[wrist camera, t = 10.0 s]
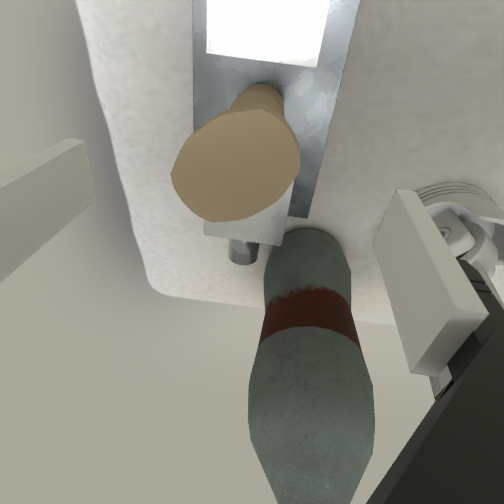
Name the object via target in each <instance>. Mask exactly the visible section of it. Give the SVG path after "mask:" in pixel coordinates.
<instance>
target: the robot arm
mask: <svg viewBox="0 0 504 504" xmlns="http://www.w3.org/2000/svg"><path fill="white" fill-rule="evenodd" d="M96 199H97V196H96V191H95V186H94V182H93V177H92V172H91V167H90V163H89V158H88V153H87V149H86V144H85V141H84V140H79V139H72V138H66V139H64V140H62V141H60V142H58V143H57V144H55V145H53V146H51V147H49V148H47V149H45V150H43V151H41V152H39V153H37V154H35V155H33V156H31V157H29V158H27V159H25V160H23V161H22V162H20V163H18V164H16V165H14V166H12V167H10V168H8V169H6V170H4V171H2V172H0V283H1V282H2V281H3V280H4V279H5V278H7V277H8V276H9V275H10V274H11V273H12V272H13V271H15V270H16V269H17V268H18V267H19V266H20V265H21V264H23V263H24V262H25V261H26V260H27V259H28V258H29V257H31V256H32V255H33V254H34V253H35V252H36V251H37V250H39V249H40V248H41V247H42V246H43V245H44V244H45V243H46V242H48V241H49V240H50V239H51V238H52V237H53V236H54V235H55V234H57V233H58V232H59V231H60V230H61V229H63V228H64V227H65V226H66V225H67V224H68V223H69V222H70V221H72V220H73V219H74V218H75V217H76V216H77V215H78V214H80V213H81V212H82V211H83V210H84V209H85V208H87V207H88V206H89V205H90V204H91V203H92V202H93V201H95V200H96ZM374 247H375V250H376V254H377V257H378V261H379V264H380V268H381V271H382V275H383V278H384V282H385V285H386V289H387V292H388V296H389V299H390V303H391V306H392V310H393V313H394V317H395V320H396V324H397V327H398V331H399V334H400V338H401V341H402V345H403V348H404V352H405V355H406V358H407V362H408V366H409V369H410V372H411V373H415V374H420V375H426V376H431V377H436V378H437V377H438V376H439V375H440V373H441V372H442V371H443V370H444V369H445V367H446V366H448V369H449V371H450V374H451V376H452V379H451V380H450V381H449V382H448V384H447V385H446V386H445V387H444V388H443V389H442V391H441V392H440V393H439V394H438V395H437V396H436V397H435V399H436V401H435V403H434V404H433V406H432V407H431V409H430V410H429V412H428V413H427V414H426V416H425V417H424V419H423V420H422V422H421V423H420V425H419V426H418V428H417V429H416V431H415V432H414V433H413V435H412V436H411V438H410V439H409V441H408V442H407V444H406V445H405V447H404V448H403V450H402V451H401V453H400V454H399V456H398V457H397V459H396V460H395V462H394V463H393V464H392V466H391V468H390V469H389V470H388V472H387V474H386V475H385V476H384V478H383V479H382V481H381V482H380V484H379V485H378V487H377V488H376V490H375V491H374V492H373V494H372V496H371V497H370V498H369V500H368V501H367V503H366V504H504V309H503V308H502V306H501V305H500V303H499V302H498V300H497V299H496V297H495V296H494V294H492V291H491V290H490V288H489V287H488V285H487V284H485V283H486V282H485V281H484V279H483V278H482V276H481V274H480V273H479V271H478V270H477V269H475V268H474V267H473V266H472V265H471V264H469V263H468V262H467V261H466V260H463V259H457V258H455V256H454V255H453V253H452V251H451V250H450V248H449V246H448V245H447V243H446V241H445V240H444V238H443V236H442V235H441V233H440V231H439V230H438V228H437V226H436V225H435V223H434V222H433V220H432V218H431V217H430V215H429V213H428V212H427V210H426V208H425V207H424V205H423V203H422V202H421V200H420V198H419V197H418V195H417V193H416V192H415V191H410V190H403V189H397V188H396V190H395V192H394V195H393V197H392V200H391V202H390V205H389V207H388V209H387V212H386V214H385V217H384V219H383V222H382V224H381V227H380V229H379V231H378V234H377V236H376V239H375V241H374Z"/></svg>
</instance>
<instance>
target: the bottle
mask: <svg viewBox="0 0 504 504" xmlns="http://www.w3.org/2000/svg"><path fill="white" fill-rule="evenodd" d="M264 300H265V317H264V322H263V327H262V331H261V336H260V341H259V346H258V350H257V353H256V357H255V361H254V365H253V369H252V372H251V376H250V382H249V397H248V422H249V430H250V438H251V442H252V444H253V446H254V449H255V451H256V454H257V456H258V458H259V460H260V462H261V465H262V467H263V470H264V472H265V474H266V477H267V479H268V481H269V483H270V486H271V488H272V490H273V493H274V495H275V497H276V500H277V502H278V504H350V502H351V500H352V498H353V496H354V493H355V491H356V489H357V487H358V485H359V482H360V480H361V478H362V476H363V473H364V471H365V469H366V467H367V465H368V462H369V460H370V458H371V456H372V453H373V443H374V431H375V414H374V399H373V385H372V382H371V379H370V376H369V373H368V370H367V367H366V364H365V360H364V357H363V354H362V351H361V347H360V343H359V339H358V335H357V332H356V328H355V324H354V320H353V317H352V313H351V271H350V268H349V266H348V263H347V261H346V258H345V256H344V254H343V251H342V249H341V247H340V246H339V245H338V243H337V242H336V241H335V240H334V239H333V238H332V237H331V236H330V235H328V234H326V233H324V232H322V231H320V230H315V229H309V228H308V229H298V230H295V231H292V232H290V233H287V234H286V235H284V236H283V240H282V245H281V246H275V247H274V248H273V250H272V252H271V253H270V255H269V259H268V262H267V265H266V268H265V273H264Z"/></svg>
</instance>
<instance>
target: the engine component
mask: <svg viewBox="0 0 504 504" xmlns="http://www.w3.org/2000/svg"><path fill="white" fill-rule="evenodd" d="M416 193H417V195H418V197H419V198H420V200H421V202H422V203H423V205H424V207H425V208H426V210H427V212H428V213H429V215H430V217H431V218H432V220H433V222H434V223H435V225H436V226H437V228H438V230H439V231H440V233H441V235H442V236H443V238H444V240H445V241H446V243H447V245H448V246H449V248H450V250H451V251H452V253H453V255H454V256H455V258H457V259H463V260H466V261H467V262H468V263H469V264H471V265H472V266H473V267H474V268H475V269H477V270H478V271H479V273H480V274H481V276H482V278H483V279H484V281H485V282H486V283H485V284H487V285H488V287H489V288H490V290H491V291H492V294H494V296H495V297H496V299H497V300H498V302H499V303H500V305H501V306H502V308H503V309H504V304H503V302H502V300H501V299H500V297H499V295H498V293H497V291H496V289H495V287H494V285H493V284H492V282H491V280H490V278H491V277H492V276H493V275H494V274H495V267H494V266H495V265H504V212H503V211H502V210H501V209H500V208H499V207H498V206H497V205H496V204H495V203H494V202H493V201H492V200H491V199H490V198H489V197H488V196H487V195H486V194H485V193H484V192H483V191H481V190H480V189H478V188H476V187H474V186H471V185H468V184H464V183H454V182H452V183H441V184H437V185H433V186H429V187H427V188H424V189H422V190H420V191H418V192H416ZM429 378H430V382H431V386H432V390H433V394H434V398H435V397H436V396H437V395H438V394H439V393H440V392H441V391H442V389H443V388H444V387H445V386H446V385H447V384H448V382H449V381H450V380H451V379H452V376H451V374H450V371H449V369H448V366H446V367H445V369H444V370H443V371H442V372H441V373H440V375H439V376H438V377H437V378H436V377H431V376H429ZM435 401H436V399H435Z"/></svg>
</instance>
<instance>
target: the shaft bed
mask: <svg viewBox="0 0 504 504" xmlns="http://www.w3.org/2000/svg"><path fill="white" fill-rule="evenodd" d="M359 4H360V0H193V111H194V132H195V131H196V130H197V129H198V128H200V127H201V126H202V125H203V124H205V123H206V122H207V121H208V120H210V119H211V118H212V117H214V116H215V115H216V114H218V113H220V112H221V111H224V110H228V109H229V108H230V106H231V105H232V103H233V102H234V100H235V99H236V98H237V97H238V95H239V94H241V93H242V92H243V91H244V90H245V89H247V88H248V87H249V86H251V85H252V84H269V83H271V84H273V85H274V86H275V89H276V90H277V91H278V93H279V94H280V96H281V97H282V99H283V104H284V118H285V120H286V121H287V122H288V124H289V125H290V126H291V128H292V130H293V132H294V134H295V136H296V138H297V141H298V144H299V148H300V172H299V173H298V175H297V176H296V178H295V179H294V181H293V182H292V184H291V185H290V186H289V188H288V189H287V191H286V192H285V193H284V195H283V196H282V197H281V198H280V199H279V200H278V201H277V202H275V203H274V204H272V205H271V206H269V207H268V208H266V209H264V210H262V211H260V212H259V213H257V214H255V215H253V216H251V217H248V218H246V219H242V220H237V221H227V222H214V223H212V222H210V221H207V220H205V219H204V235H210V236H216V237H222V238H229V239H230V241H229V254H228V256H229V259H230V260H231V261H232V262H234V263H236V264H239V265H250V264H253V263H254V262H255V261H256V260H257V258H258V251H259V244H260V243H261V244H268V245H274V246H281V245H282V240H283V235H284V230H285V225H286V220H287V216H294V217H300V218H308V214H309V210H310V206H311V202H312V198H313V193H314V189H315V185H316V181H317V177H318V173H319V169H320V165H321V160H322V156H323V152H324V148H325V144H326V140H327V136H328V132H329V127H330V123H331V119H332V115H333V111H334V107H335V103H336V99H337V94H338V90H339V86H340V82H341V78H342V74H343V70H344V66H345V61H346V57H347V53H348V49H349V45H350V41H351V37H352V33H353V28H354V24H355V20H356V16H357V12H358V8H359Z"/></svg>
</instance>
